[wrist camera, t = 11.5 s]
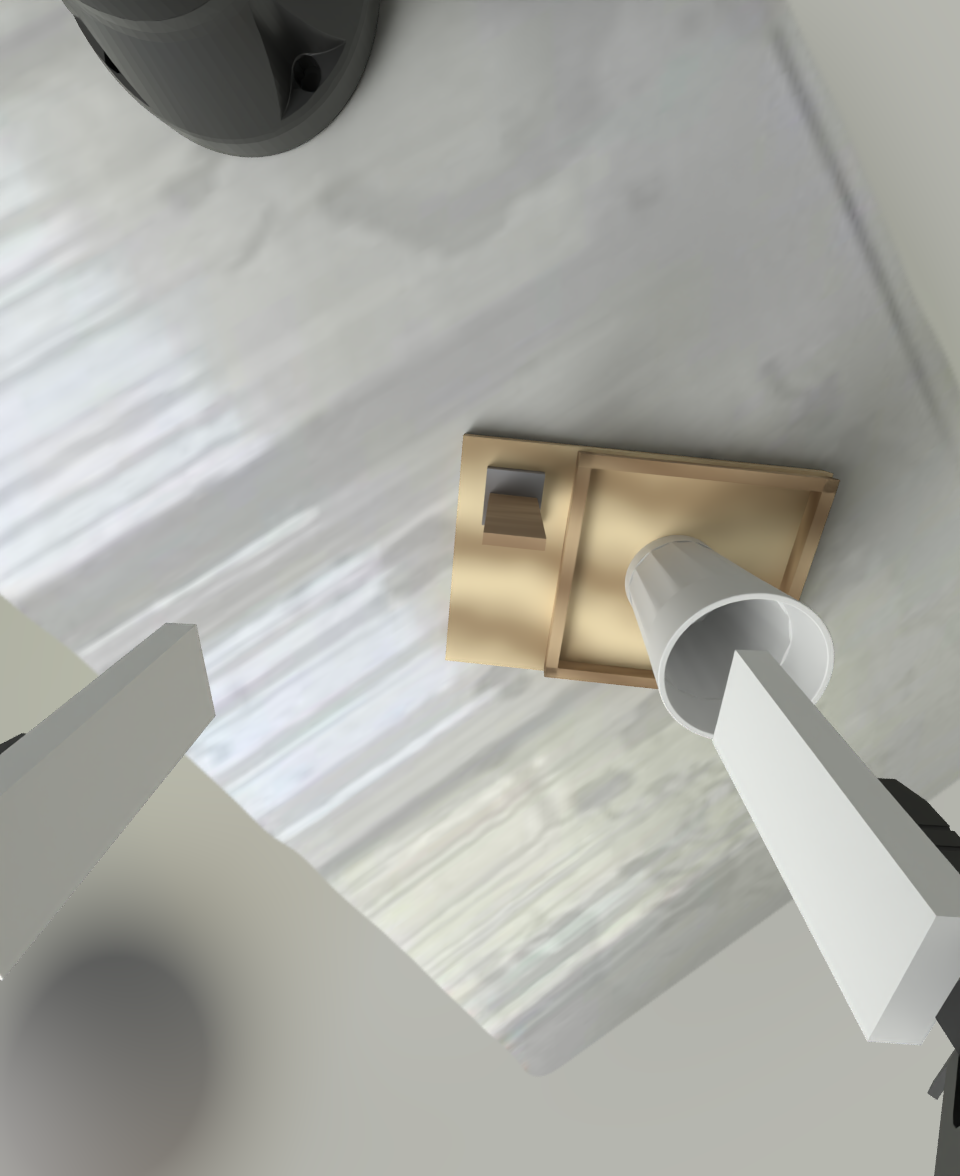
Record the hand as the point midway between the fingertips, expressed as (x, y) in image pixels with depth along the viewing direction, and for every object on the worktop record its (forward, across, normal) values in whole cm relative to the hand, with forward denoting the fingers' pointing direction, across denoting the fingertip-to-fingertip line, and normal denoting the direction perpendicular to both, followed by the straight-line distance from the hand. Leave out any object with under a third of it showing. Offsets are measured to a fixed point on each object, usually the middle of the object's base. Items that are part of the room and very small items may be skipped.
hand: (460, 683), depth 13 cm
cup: (+23, +12, -6) cm, 27 cm away
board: (+24, +9, -6) cm, 26 cm away
